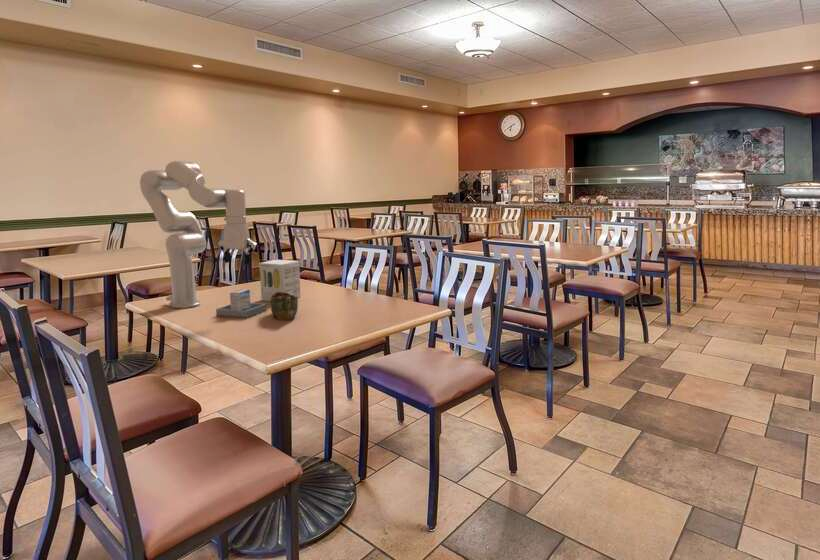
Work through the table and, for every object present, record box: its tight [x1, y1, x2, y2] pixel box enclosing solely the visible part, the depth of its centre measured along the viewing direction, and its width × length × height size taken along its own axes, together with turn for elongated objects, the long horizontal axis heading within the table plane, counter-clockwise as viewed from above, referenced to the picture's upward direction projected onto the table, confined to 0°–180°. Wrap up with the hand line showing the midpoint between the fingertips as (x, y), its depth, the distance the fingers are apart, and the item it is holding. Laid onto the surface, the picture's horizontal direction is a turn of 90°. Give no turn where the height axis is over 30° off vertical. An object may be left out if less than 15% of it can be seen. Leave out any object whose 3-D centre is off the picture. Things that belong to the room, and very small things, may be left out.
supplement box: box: [259, 259, 301, 302], centre depth 242 cm, size 13×13×18 cm
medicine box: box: [229, 288, 252, 311], centre depth 214 cm, size 8×4×9 cm, turn 166°
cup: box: [269, 292, 299, 321], centre depth 208 cm, size 13×20×10 cm, turn 177°
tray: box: [215, 302, 267, 320], centre depth 214 cm, size 14×14×3 cm
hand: (237, 263), depth 213 cm, fingers open, 9 cm apart
